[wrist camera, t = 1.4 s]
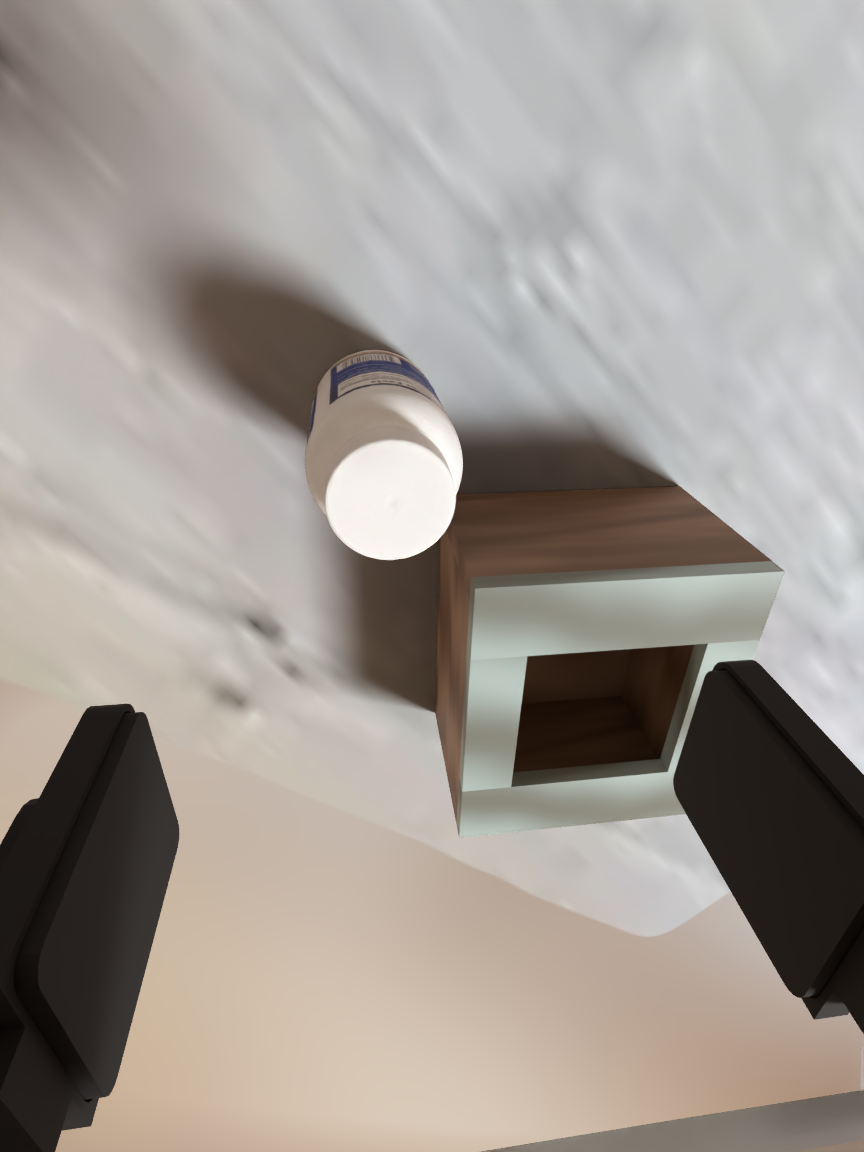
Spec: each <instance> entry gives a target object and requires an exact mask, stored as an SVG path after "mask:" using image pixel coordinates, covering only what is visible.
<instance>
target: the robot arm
mask: <svg viewBox="0 0 864 1152" xmlns="http://www.w3.org/2000/svg"><path fill="white" fill-rule="evenodd" d="M673 786H674V791H675V794H676V797H677V799H678V801H679V802H680V804H681V806H682V808H683V809H684V811H685V813H686V814H687V816H688V818H689V820H690V821H691V823H692V825H693V827H694V828H695V830H696V832H697V833H698V835H699V837H700V839H701V840H702V842H703V844H704V846H705V847H706V849H707V851H708V853H709V854H710V856H711V858H712V859H713V861H714V863H715V865H716V866H717V868H718V870H719V872H720V873H721V875H722V877H723V878H724V880H725V882H726V884H727V885H728V887H729V889H730V891H731V892H732V894H733V896H734V897H735V899H736V901H737V902H738V904H739V906H740V908H741V909H742V911H743V913H744V915H745V916H746V918H747V920H748V922H749V923H750V925H751V927H752V929H753V930H754V932H755V933H756V936H757V937H758V939H759V941H760V942H761V944H762V946H763V948H764V949H765V951H766V953H767V955H768V956H769V958H770V960H771V961H772V963H773V965H774V967H775V968H776V970H777V972H778V974H779V975H780V977H781V979H782V981H783V982H784V983H785V985H786V987H787V988H788V990H789V991H790V992H791V993H792V994H793V995H795V996H796V997H799V998H802V1000H803V1002H804V1003H805V1005H806V1007H807V1008H808V1010H809V1012H810V1013H811V1015H812V1017H813V1018H814V1019H821V1018H828V1017H835V1016H842V1015H848V1013H849V1012H850V1013H851V1015H852V1017H853V1018H854V1020H855V1021H856V1023H857V1024H858V1026H859V1027H860V1029H861V1031H862V1044H861V1046H862V1047H861V1081H860V1084H861V1085H860V1091H855V1092H849V1093H842V1094H836V1095H829V1096H823V1097H817V1098H810V1099H805V1100H797V1101H791V1102H785V1103H778V1104H772V1105H766V1106H760V1107H753V1108H747V1109H741V1110H735V1111H728V1112H722V1113H715V1114H709V1115H703V1116H697V1117H690V1118H685V1119H677V1120H672V1121H665V1122H659V1123H653V1124H647V1125H641V1126H635V1127H628V1128H622V1129H616V1130H610V1131H604V1132H598V1133H592V1134H585V1135H579V1136H573V1137H567V1138H561V1139H555V1140H549V1141H543V1142H536V1143H530V1144H524V1145H519V1146H512V1147H506V1148H501V1149H494V1150H488V1151H482V1152H864V775H863V774H862V773H861V772H860V771H859V770H858V768H857V767H856V766H855V765H854V764H853V763H852V762H851V761H850V760H849V759H848V758H847V757H846V756H845V755H844V754H843V752H842V751H841V750H840V749H839V748H838V747H837V746H836V745H835V744H834V743H833V742H832V741H831V740H830V739H829V738H828V736H827V735H826V734H825V733H824V732H823V731H822V730H821V729H820V728H819V727H818V726H817V725H816V724H815V723H814V722H813V721H812V719H811V718H810V717H809V716H808V715H807V714H806V713H805V712H804V711H803V710H802V709H801V708H800V707H799V706H798V705H797V703H796V702H795V701H794V700H793V699H792V698H791V697H790V696H789V695H788V694H787V693H786V692H785V691H784V690H783V689H782V687H781V686H780V685H779V684H778V683H777V682H776V681H775V680H774V679H773V678H772V677H771V676H770V675H769V674H768V673H767V671H766V670H765V669H764V668H763V667H762V666H761V665H760V664H759V663H757V662H756V661H753V660H739V661H725V662H718V663H717V664H716V665H715V666H714V668H713V670H712V671H709V672H708V673H706V675H705V677H704V680H703V684H702V687H701V690H700V693H699V697H698V700H697V703H696V706H695V709H694V713H693V716H692V719H691V722H690V725H689V729H688V732H687V735H686V738H685V741H684V745H683V748H682V751H681V754H680V757H679V761H678V764H677V767H676V770H675V773H674V777H673ZM178 842H179V825H178V820H177V817H176V814H175V811H174V807H173V804H172V800H171V797H170V793H169V790H168V787H167V783H166V780H165V777H164V773H163V770H162V767H161V763H160V760H159V756H158V753H157V750H156V746H155V743H154V740H153V736H152V733H151V729H150V726H149V723H148V719H147V717H146V715H145V713H144V712H137V713H135V711H134V708H133V707H132V706H131V705H130V704H118V705H104V706H91V707H89V708H87V709H86V711H85V712H84V714H83V715H82V717H81V719H80V721H79V723H78V725H77V727H76V729H75V731H74V733H73V735H72V736H71V739H70V740H69V742H68V744H67V746H66V748H65V750H64V752H63V754H62V756H61V757H60V759H59V761H58V763H57V765H56V767H55V769H54V771H53V773H52V775H51V776H50V778H49V780H48V782H47V784H46V786H45V788H44V790H43V792H42V794H41V796H40V798H38V799H32V800H30V801H29V802H27V803H26V804H25V805H23V807H22V808H21V810H20V811H19V813H18V814H17V816H16V817H15V819H14V821H13V823H12V824H11V826H10V828H9V830H8V832H7V834H6V835H5V837H4V839H3V841H2V843H1V845H0V1152H55V1150H56V1147H57V1143H58V1140H59V1137H60V1134H61V1130H68V1129H75V1128H81V1127H88V1126H91V1124H92V1121H93V1117H94V1114H95V1110H96V1106H97V1103H98V1099H99V1098H101V1097H106V1096H108V1095H109V1094H110V1093H111V1092H112V1089H113V1087H114V1085H115V1082H116V1079H117V1076H118V1072H119V1069H120V1065H121V1061H122V1057H123V1053H124V1050H125V1046H126V1042H127V1038H128V1034H129V1030H130V1026H131V1023H132V1019H133V1015H134V1011H135V1008H136V1004H137V1000H138V996H139V992H140V988H141V985H142V981H143V977H144V973H145V969H146V966H147V962H148V958H149V954H150V951H151V947H152V943H153V939H154V935H155V932H156V927H157V924H158V920H159V916H160V912H161V908H162V905H163V901H164V897H165V894H166V890H167V886H168V882H169V878H170V874H171V871H172V867H173V863H174V859H175V855H176V852H177V848H178Z"/></svg>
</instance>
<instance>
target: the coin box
mask: <svg viewBox="0 0 864 1152" xmlns="http://www.w3.org/2000/svg"><path fill="white" fill-rule="evenodd" d="M784 572H785V571H784V570H782V569H781V568H780V567H779V566H778V565H776V564H775V563H774V562H773V561H771V560H770V559H769V558H768V557H766V556H765V555H764V554H763V553H761V552H760V551H759V550H758V549H757V548H755V547H754V546H753V545H752V544H750V543H749V542H748V541H747V540H745V539H744V538H743V537H742V536H740V535H739V534H738V533H737V532H736V531H734V530H733V529H732V528H731V527H729V526H728V525H727V524H726V523H724V522H723V521H722V520H721V519H719V518H718V517H717V516H716V515H715V514H713V513H712V512H711V511H710V510H708V509H707V508H706V507H705V506H703V505H702V504H701V503H700V502H699V501H697V500H696V499H695V498H694V497H692V496H691V495H690V494H689V493H687V492H686V491H685V490H684V489H682V488H681V487H680V486H673V487H645V488H618V489H590V490H563V491H535V492H508V493H480V494H456V504H455V510H454V514H453V517H452V520H451V522H450V524H449V526H448V528H447V529H446V531H445V532H444V534H443V535H442V536H441V537H440V565H439V602H438V638H437V675H436V711H435V714H436V719H437V724H438V729H439V735H440V740H441V745H442V750H443V756H444V761H445V766H446V771H447V776H448V782H449V787H450V792H451V797H452V803H453V808H454V813H455V818H456V824H457V829H458V834H459V838H463V837H472V836H482V835H491V834H501V833H510V832H520V831H529V830H538V829H548V828H557V827H567V826H576V825H586V824H595V823H605V822H614V821H624V820H633V819H643V818H652V817H662V816H671V815H681V814H686V813H685V811H684V809H683V808H682V806H681V804H680V802H679V801H678V799H677V797H676V794H675V791H674V786H673V777H674V773H675V770H676V767H677V764H678V761H679V757H680V754H681V751H682V748H683V745H684V741H685V738H686V735H687V732H688V729H689V725H690V722H691V719H692V716H693V713H694V709H695V706H696V703H697V700H698V697H699V693H700V690H701V687H702V684H703V680H704V677H705V675H706V673H708V672H709V671H712V670H713V668H714V666H715V665H716V664H717V663H718V662H725V661H739V660H752V659H753V657H754V654H755V651H756V649H757V646H758V643H759V640H760V638H761V635H762V632H763V630H764V627H765V624H766V621H767V619H768V616H769V613H770V610H771V608H772V605H773V602H774V600H775V597H776V594H777V591H778V589H779V586H780V583H781V581H782V578H783V575H784Z"/></svg>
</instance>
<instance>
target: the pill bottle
mask: <svg viewBox="0 0 864 1152" xmlns="http://www.w3.org/2000/svg"><path fill="white" fill-rule="evenodd" d="M305 469H306V477H307V482H308V485H309V489H310V491H311V494H312V496H313V498H314V500H315V502H316V503H317V505H318V507H319V508H320V509H321V511H322V512H323V513H324V514H325V515H326V516H327V518H328V521H329V524H330V525H331V528H332V530H333V531H334V533H335V534H336V535H337V536H338V538H339V539H340V540H341V541H342V542H343V543H344V544H346V545H347V546H348V547H349V548H351V549H352V550H354V551H356V552H357V553H360V554H362V555H364V556H367V557H371V558H375V559H380V560H396V559H404V558H408V557H411V556H414V555H416V554H419V553H421V552H422V551H424V550H426V549H427V548H429V547H430V546H432V545H433V544H434V543H435V542H437V541H438V540H439V538H440V537H441V536H442V535H443V534H444V532H445V531H446V529H447V528H448V526H449V524H450V522H451V520H452V517H453V514H454V510H455V504H456V494H457V492H458V489H459V486H460V482H461V478H462V471H463V457H462V450H461V445H460V442H459V439H458V435H457V433H456V430H455V428H454V426H453V425H452V423H451V421H450V419H449V417H448V415H447V414H446V412H445V410H444V408H443V406H442V404H441V403H440V401H439V399H438V397H437V395H436V393H435V391H434V389H433V387H432V386H431V384H430V383H429V381H428V380H427V378H426V377H425V375H424V374H423V373H422V372H421V371H420V370H419V369H418V368H417V367H416V366H415V365H414V364H413V363H411V362H410V361H409V360H407V359H406V358H404V357H402V356H400V355H397V354H395V353H392V352H388V351H382V350H365V351H360V352H356V353H353V354H351V355H348V356H346V357H344V358H342V359H341V360H339V361H338V362H336V363H335V364H334V365H333V366H332V367H331V368H330V369H329V370H328V371H327V373H326V374H325V375H324V377H323V378H322V380H321V381H320V383H319V385H318V388H317V390H316V392H315V395H314V399H313V403H312V408H311V417H310V425H309V432H308V440H307V446H306V452H305Z"/></svg>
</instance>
